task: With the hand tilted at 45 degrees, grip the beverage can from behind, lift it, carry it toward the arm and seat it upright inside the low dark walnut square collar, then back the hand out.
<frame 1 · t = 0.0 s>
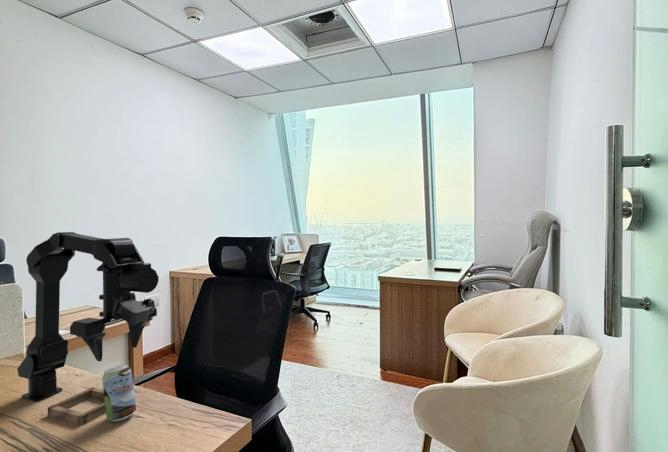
hand: (117, 353, 85), 15 cm above the table, tool pointing down, fingers open, 9 cm apart
beverage can: (119, 418, 84), on the table
walnut collar: (87, 408, 87), on the table
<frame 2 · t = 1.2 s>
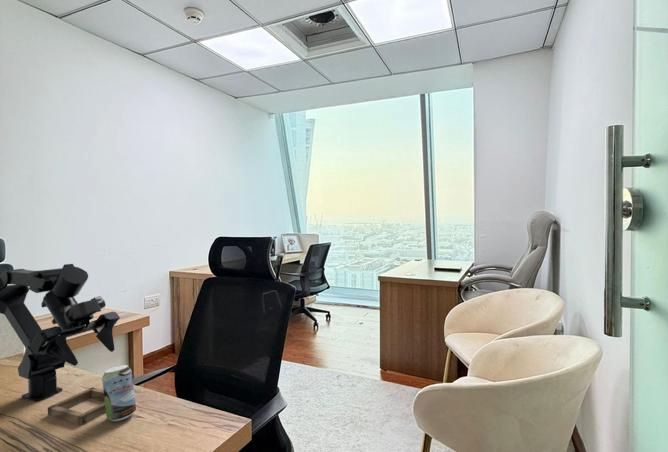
hand: (95, 357, 86), 13 cm above the table, tool tilted 45°, fingers open, 9 cm apart
nothing on the table moved.
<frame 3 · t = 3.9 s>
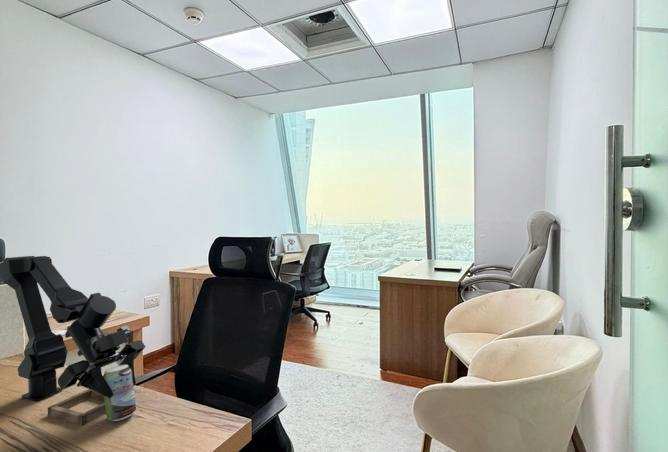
hand: (123, 390, 83), 7 cm above the table, tool tilted 45°, fingers closed on beverage can, 5 cm apart
beverage can: (119, 417, 84), on the table, touching gripper
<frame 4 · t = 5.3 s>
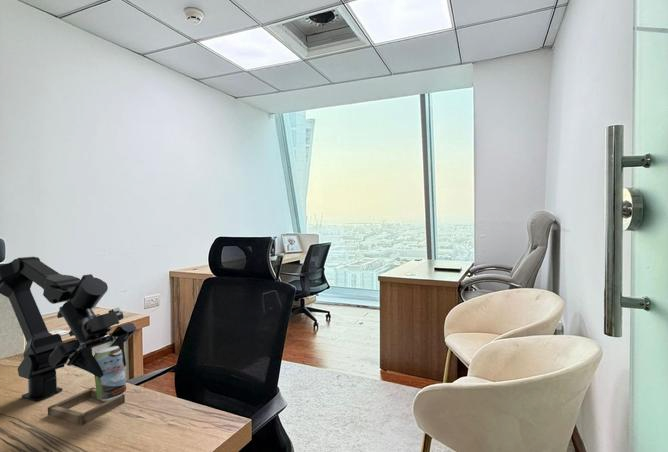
hand: (113, 371, 84), 11 cm above the table, tool tilted 45°, fingers closed on beverage can, 5 cm apart
beverage can: (109, 397, 85), point 4 cm above the table, touching gripper
when the fingers open (9 cm above the table, at t = 7.0 s): beverage can drops 3 cm, resting in walnut collar.
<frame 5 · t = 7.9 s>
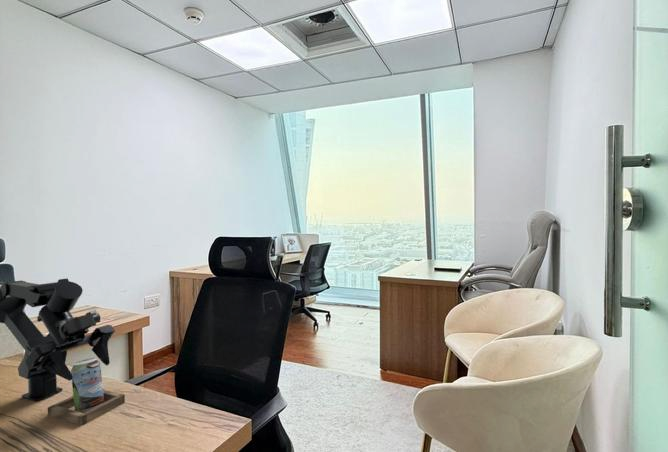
hand: (90, 371, 87), 10 cm above the table, tool tilted 45°, fingers open, 9 cm apart
beverage can: (87, 408, 88), resting in walnut collar
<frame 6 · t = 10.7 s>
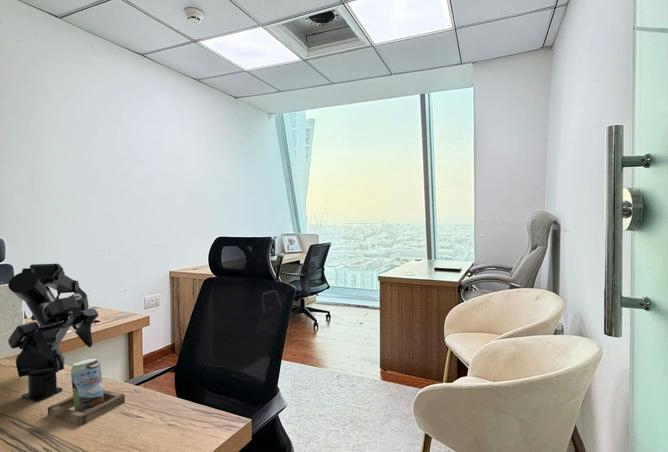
hand: (73, 352, 89), 14 cm above the table, tool tilted 45°, fingers open, 9 cm apart
nothing on the table moved.
at the end: beverage can 0.4 cm off-centre on the walnut collar, point 0.0 cm above the walnut collar's base; beverage can tilted 0°; the gripper is holding nothing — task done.
